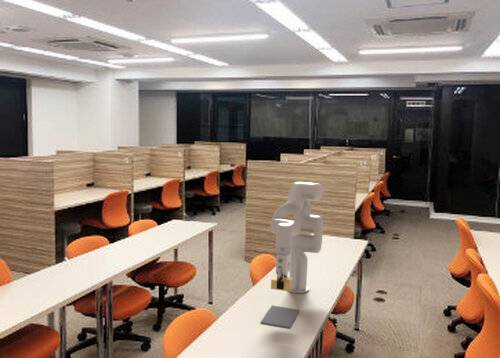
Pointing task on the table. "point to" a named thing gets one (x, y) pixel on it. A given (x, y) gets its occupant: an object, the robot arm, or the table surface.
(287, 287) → the box
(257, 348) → the table surface
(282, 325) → the mat
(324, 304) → the table surface
